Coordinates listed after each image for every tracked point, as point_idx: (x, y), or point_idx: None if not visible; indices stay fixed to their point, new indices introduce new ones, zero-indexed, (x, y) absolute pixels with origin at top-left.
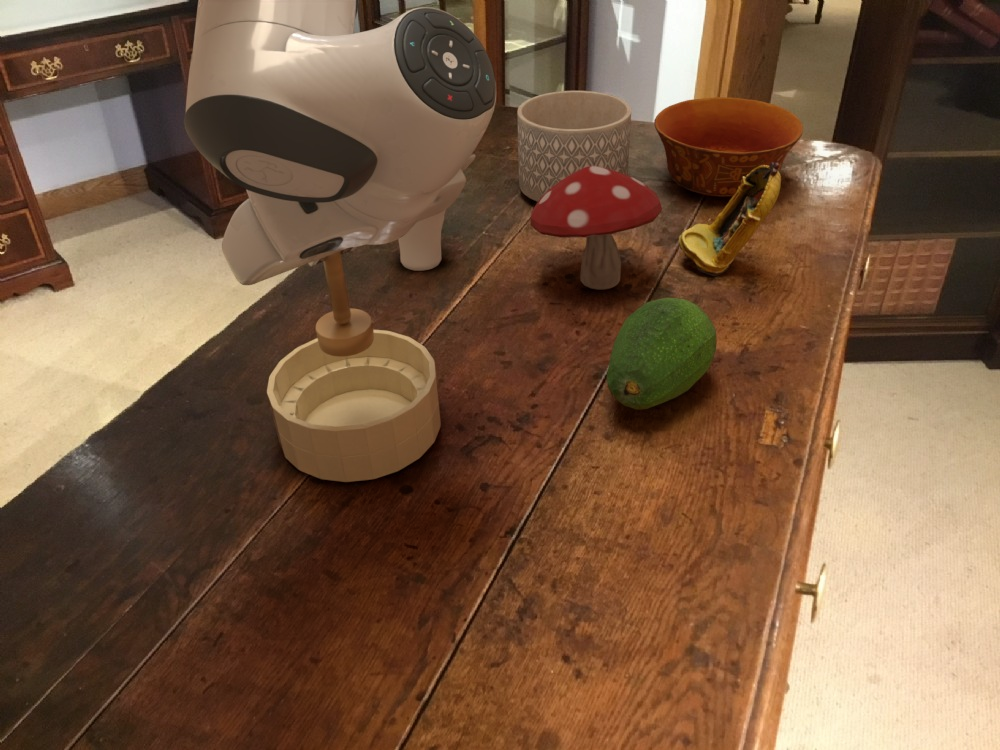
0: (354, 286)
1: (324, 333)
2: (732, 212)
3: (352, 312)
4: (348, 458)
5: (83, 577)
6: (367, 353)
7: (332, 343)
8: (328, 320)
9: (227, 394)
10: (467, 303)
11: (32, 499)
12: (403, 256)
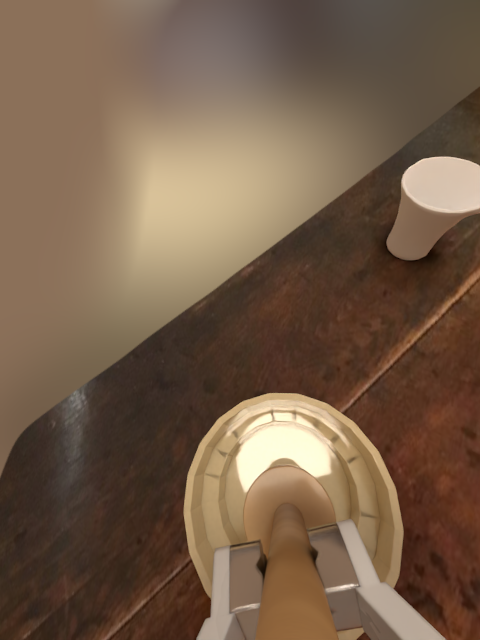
0: (334, 261)
1: (252, 532)
2: None
3: (310, 491)
4: None
5: (19, 558)
6: (319, 413)
7: None
8: (268, 492)
9: (192, 367)
10: (444, 327)
11: (33, 428)
12: (392, 241)
